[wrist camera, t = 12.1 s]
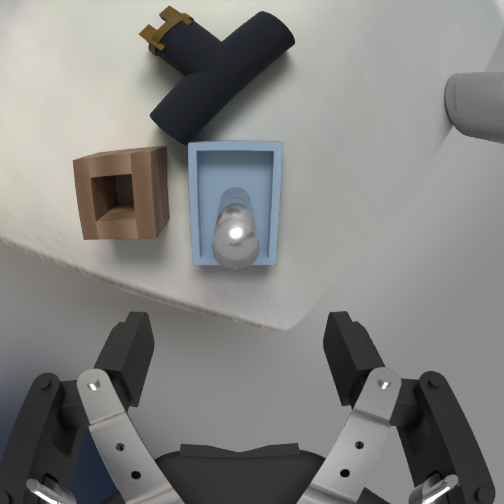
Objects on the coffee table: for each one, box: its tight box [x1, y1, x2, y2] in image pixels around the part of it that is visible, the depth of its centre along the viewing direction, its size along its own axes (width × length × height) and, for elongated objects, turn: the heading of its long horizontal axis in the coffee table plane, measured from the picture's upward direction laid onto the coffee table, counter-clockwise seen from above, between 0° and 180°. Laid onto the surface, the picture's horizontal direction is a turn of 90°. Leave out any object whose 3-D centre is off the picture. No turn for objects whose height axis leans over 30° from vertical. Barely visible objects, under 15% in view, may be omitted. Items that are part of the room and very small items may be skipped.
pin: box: [212, 187, 260, 270], centre depth 25 cm, size 3×3×12 cm
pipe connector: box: [139, 6, 295, 145], centre depth 22 cm, size 12×5×15 cm
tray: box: [188, 141, 283, 265], centre depth 30 cm, size 9×13×3 cm
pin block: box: [73, 146, 169, 240], centre depth 27 cm, size 8×8×6 cm
